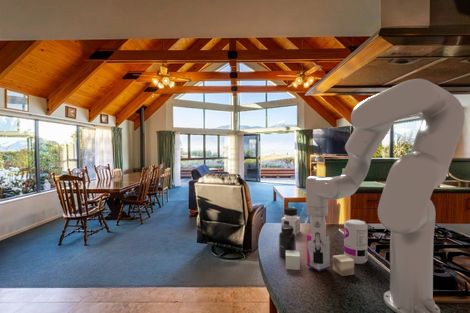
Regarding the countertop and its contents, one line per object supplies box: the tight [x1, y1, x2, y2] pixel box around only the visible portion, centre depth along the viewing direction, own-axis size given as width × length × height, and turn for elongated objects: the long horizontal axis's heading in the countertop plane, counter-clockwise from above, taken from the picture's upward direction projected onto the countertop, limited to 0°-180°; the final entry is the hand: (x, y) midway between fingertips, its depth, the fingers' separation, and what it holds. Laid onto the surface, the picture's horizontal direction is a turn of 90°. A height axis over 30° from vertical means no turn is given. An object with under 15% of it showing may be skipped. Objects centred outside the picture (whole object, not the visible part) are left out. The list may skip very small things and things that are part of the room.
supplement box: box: [306, 233, 331, 272], centre depth 90 cm, size 6×6×12 cm
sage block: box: [285, 250, 301, 271], centre depth 92 cm, size 5×5×5 cm
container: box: [280, 206, 301, 236], centre depth 130 cm, size 8×8×13 cm
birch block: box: [332, 253, 355, 277], centre depth 88 cm, size 5×5×5 cm
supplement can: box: [343, 218, 368, 265], centre depth 97 cm, size 8×8×15 cm
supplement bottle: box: [278, 225, 297, 259], centre depth 102 cm, size 7×7×12 cm
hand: (318, 257), depth 90 cm, fingers closed on supplement box, 8 cm apart
